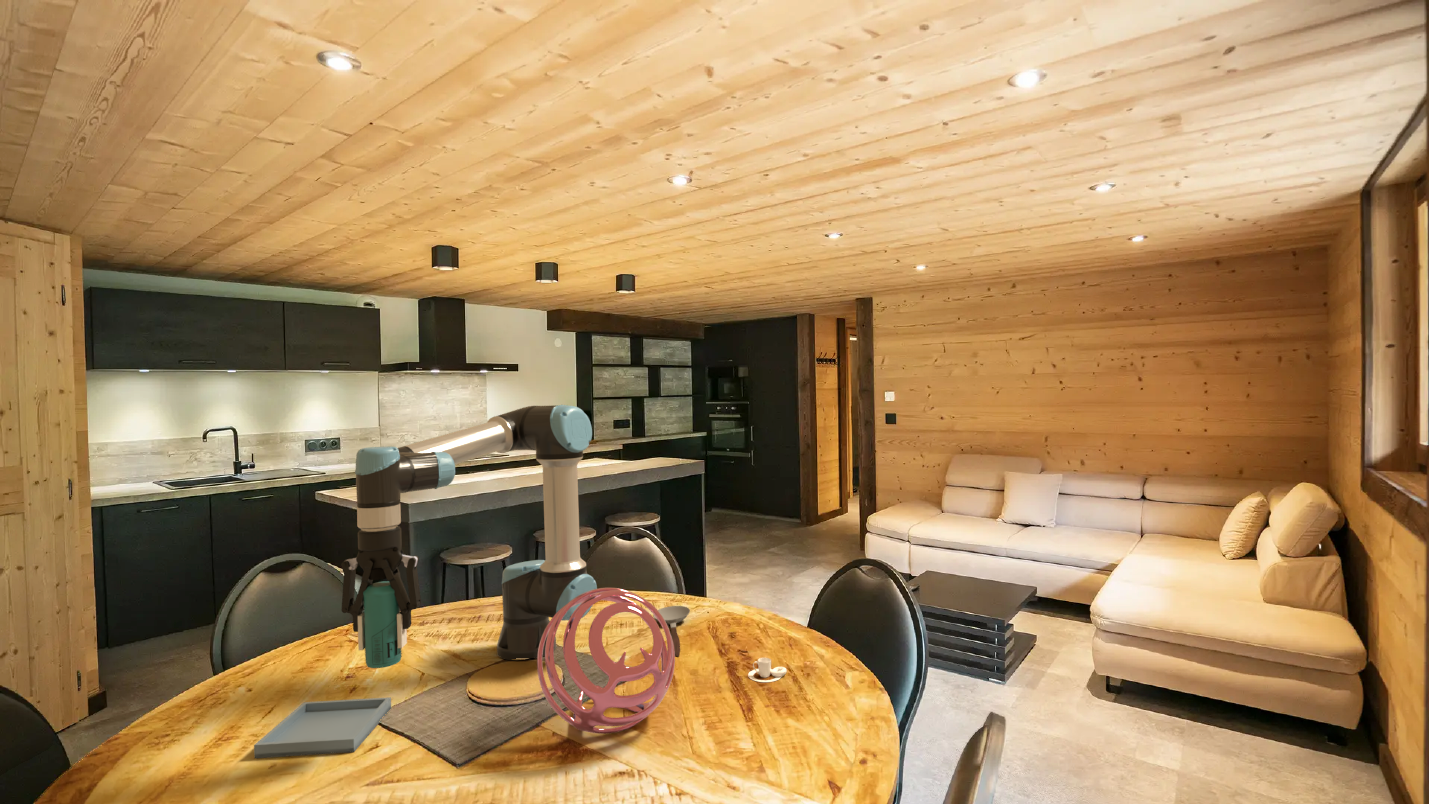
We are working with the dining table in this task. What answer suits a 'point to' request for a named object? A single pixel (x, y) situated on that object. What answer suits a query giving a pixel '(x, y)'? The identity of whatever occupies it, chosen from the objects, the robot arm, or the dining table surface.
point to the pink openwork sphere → (606, 664)
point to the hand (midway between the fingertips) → (383, 646)
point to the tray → (323, 728)
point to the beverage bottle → (381, 623)
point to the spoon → (674, 622)
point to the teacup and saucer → (766, 670)
